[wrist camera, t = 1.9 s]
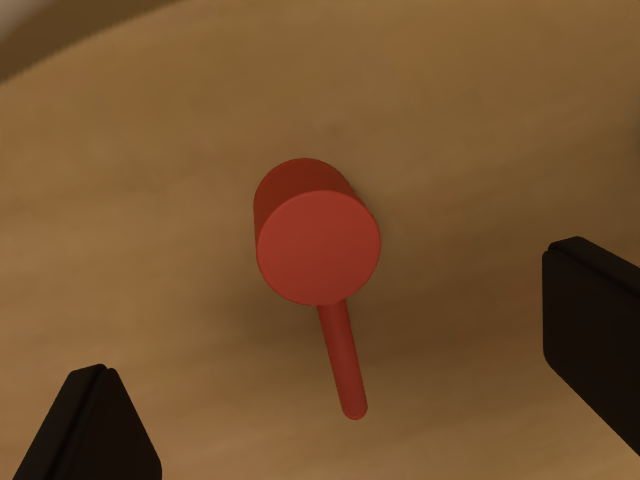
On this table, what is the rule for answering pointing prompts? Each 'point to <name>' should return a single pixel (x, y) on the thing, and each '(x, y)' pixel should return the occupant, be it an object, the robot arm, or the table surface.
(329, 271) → the red round-headed part
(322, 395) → the table surface
